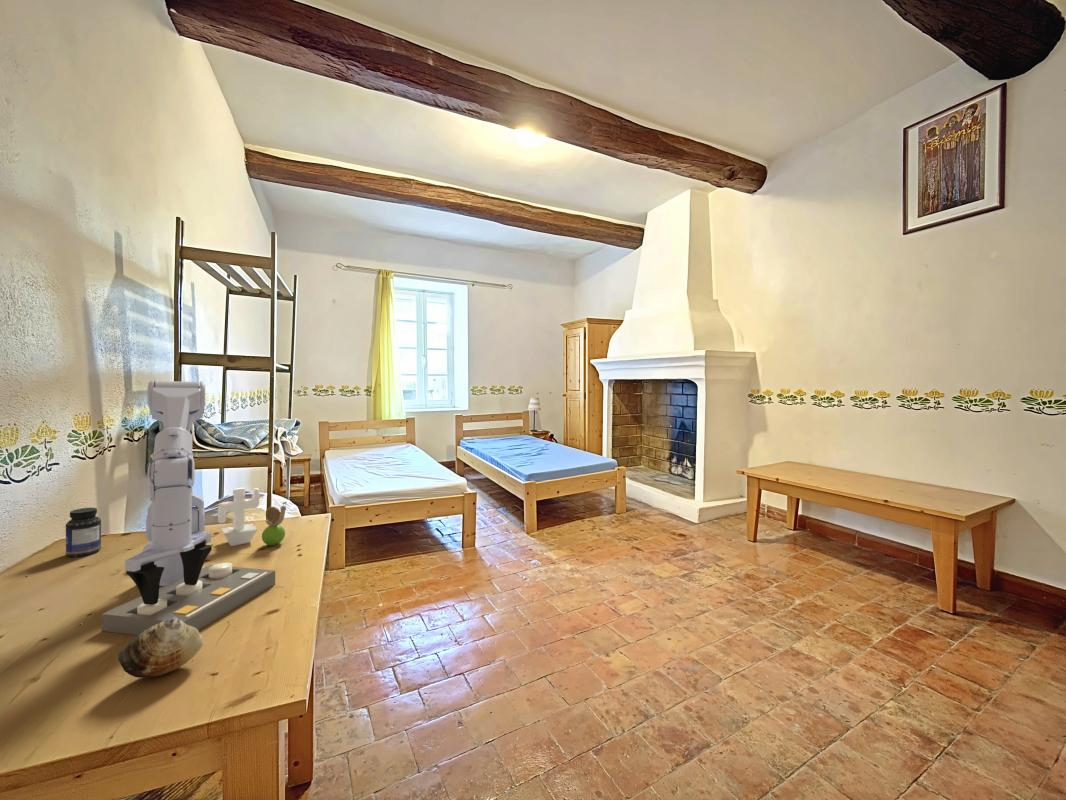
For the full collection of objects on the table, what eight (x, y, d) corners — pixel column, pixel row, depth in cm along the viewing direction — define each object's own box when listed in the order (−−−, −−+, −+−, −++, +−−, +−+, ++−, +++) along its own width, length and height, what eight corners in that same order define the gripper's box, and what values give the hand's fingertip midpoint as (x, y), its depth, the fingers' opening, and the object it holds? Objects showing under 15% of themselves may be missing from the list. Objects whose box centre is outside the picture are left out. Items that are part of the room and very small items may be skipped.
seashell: (202, 651, 68) (202, 602, 68) (203, 670, 63) (204, 618, 63) (120, 676, 62) (120, 622, 62) (115, 698, 57) (115, 641, 57)
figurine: (215, 542, 115) (215, 488, 115) (256, 534, 122) (256, 483, 121) (220, 550, 110) (220, 493, 109) (262, 541, 116) (262, 487, 116)
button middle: (170, 604, 81) (170, 588, 81) (190, 594, 85) (190, 579, 85) (188, 605, 80) (188, 590, 80) (207, 595, 84) (207, 581, 84)
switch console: (101, 630, 73) (101, 612, 73) (210, 578, 94) (210, 563, 94) (182, 640, 71) (182, 621, 71) (275, 584, 91) (275, 569, 91)
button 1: (130, 625, 74) (130, 608, 74) (154, 613, 78) (154, 597, 78) (150, 627, 73) (150, 610, 73) (173, 615, 77) (173, 599, 77)
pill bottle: (69, 551, 107) (69, 508, 106) (103, 546, 110) (103, 505, 110) (62, 559, 102) (62, 514, 102) (97, 554, 105) (97, 511, 105)
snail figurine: (277, 549, 111) (277, 504, 111) (256, 547, 112) (256, 502, 112) (292, 542, 116) (293, 499, 116) (273, 540, 117) (273, 497, 117)
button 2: (203, 584, 88) (203, 569, 88) (220, 575, 92) (220, 562, 92) (220, 585, 87) (220, 571, 87) (236, 577, 91) (236, 563, 91)
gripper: (150, 536, 71) (149, 615, 71) (224, 512, 85) (224, 578, 86) (114, 533, 72) (114, 611, 72) (194, 510, 86) (193, 575, 86)
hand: (171, 593), depth 79 cm, fingers open, 7 cm apart
